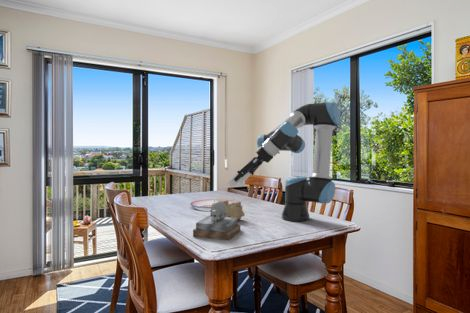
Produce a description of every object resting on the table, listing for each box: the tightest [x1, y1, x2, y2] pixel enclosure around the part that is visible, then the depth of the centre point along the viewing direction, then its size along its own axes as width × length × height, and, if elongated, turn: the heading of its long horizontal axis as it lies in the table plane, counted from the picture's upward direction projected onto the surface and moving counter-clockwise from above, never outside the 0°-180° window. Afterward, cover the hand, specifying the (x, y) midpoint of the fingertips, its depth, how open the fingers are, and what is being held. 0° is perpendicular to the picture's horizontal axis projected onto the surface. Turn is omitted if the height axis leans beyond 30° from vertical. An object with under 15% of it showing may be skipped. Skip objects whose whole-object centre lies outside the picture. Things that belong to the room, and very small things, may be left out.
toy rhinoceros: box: [209, 200, 227, 222], centre depth 144 cm, size 7×12×8 cm, turn 160°
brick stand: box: [192, 215, 241, 241], centre depth 146 cm, size 17×17×6 cm
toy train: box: [213, 199, 246, 221], centre depth 173 cm, size 6×17×10 cm, turn 57°
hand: (235, 183), depth 142 cm, fingers open, 13 cm apart
